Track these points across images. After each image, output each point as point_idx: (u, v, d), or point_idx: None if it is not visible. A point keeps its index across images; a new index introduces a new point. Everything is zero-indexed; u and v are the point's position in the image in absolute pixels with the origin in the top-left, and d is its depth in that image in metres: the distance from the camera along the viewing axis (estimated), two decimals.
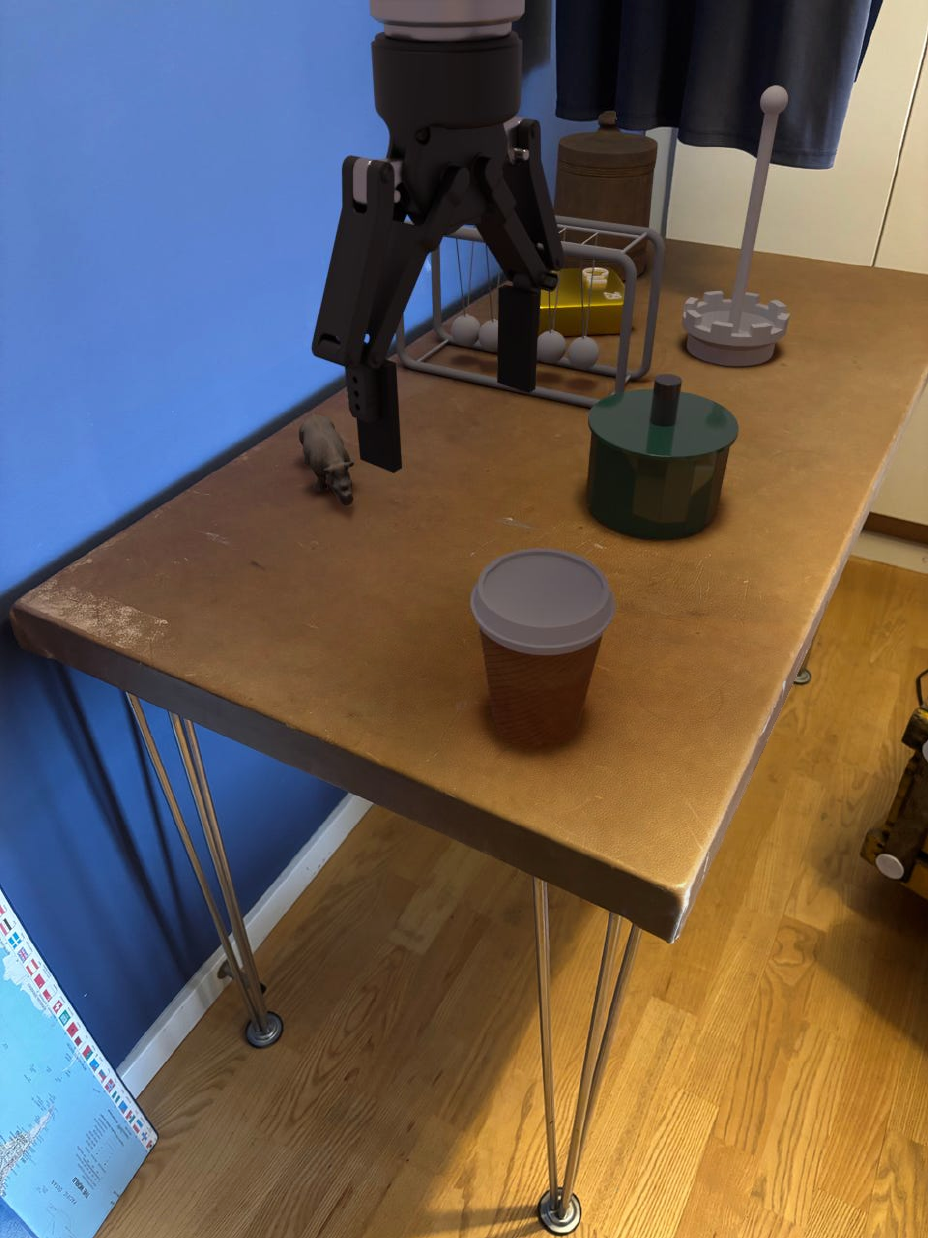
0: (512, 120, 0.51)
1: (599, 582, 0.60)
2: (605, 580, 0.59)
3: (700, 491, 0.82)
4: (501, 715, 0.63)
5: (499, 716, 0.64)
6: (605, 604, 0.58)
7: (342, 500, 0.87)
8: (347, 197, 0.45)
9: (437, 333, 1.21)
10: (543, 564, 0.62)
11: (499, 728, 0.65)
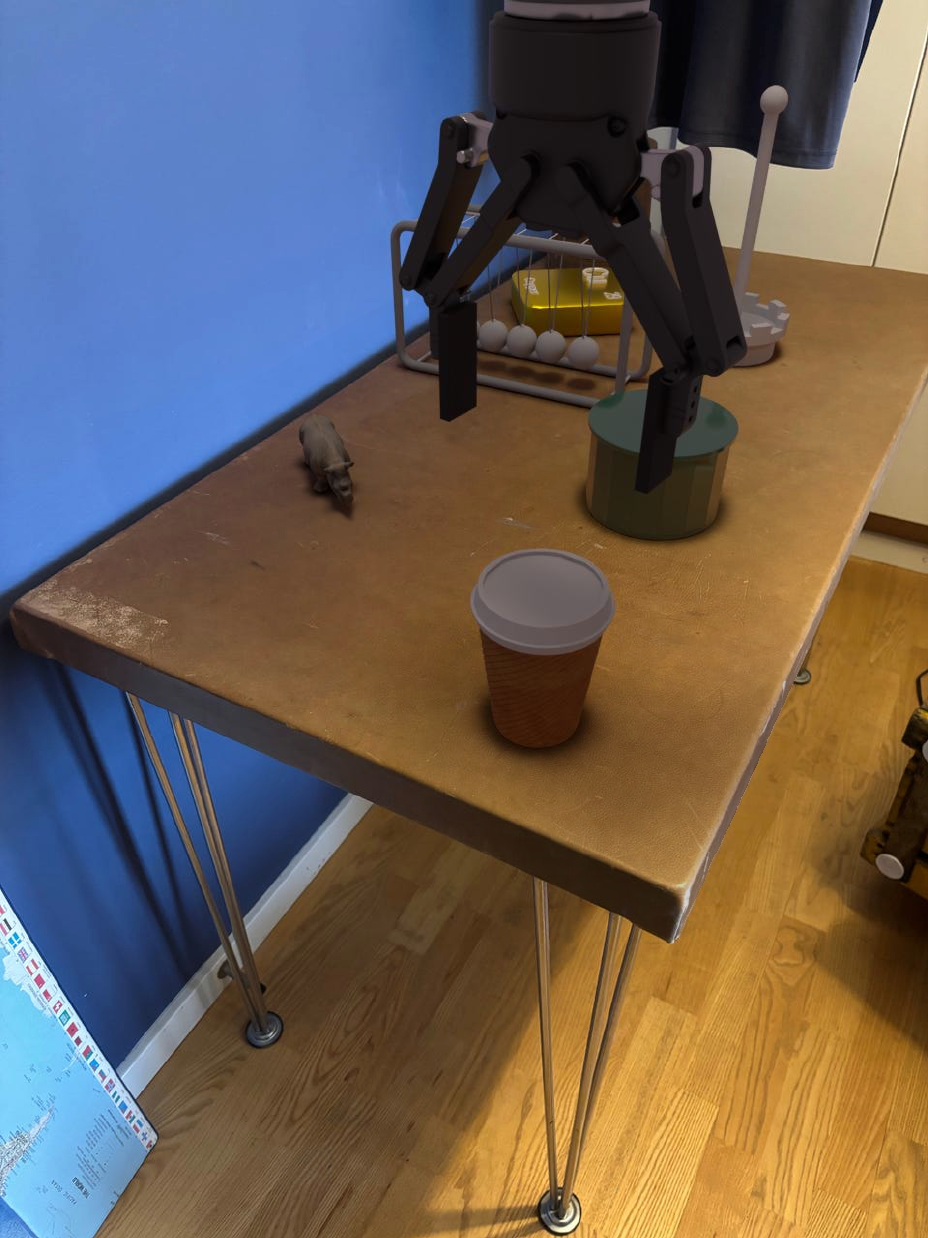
0: (468, 117, 0.45)
1: (599, 582, 0.60)
2: (605, 580, 0.59)
3: (700, 491, 0.82)
4: (501, 715, 0.63)
5: (499, 716, 0.64)
6: (605, 604, 0.58)
7: (342, 500, 0.87)
8: (689, 197, 0.40)
9: None
10: (543, 564, 0.62)
11: (499, 728, 0.65)
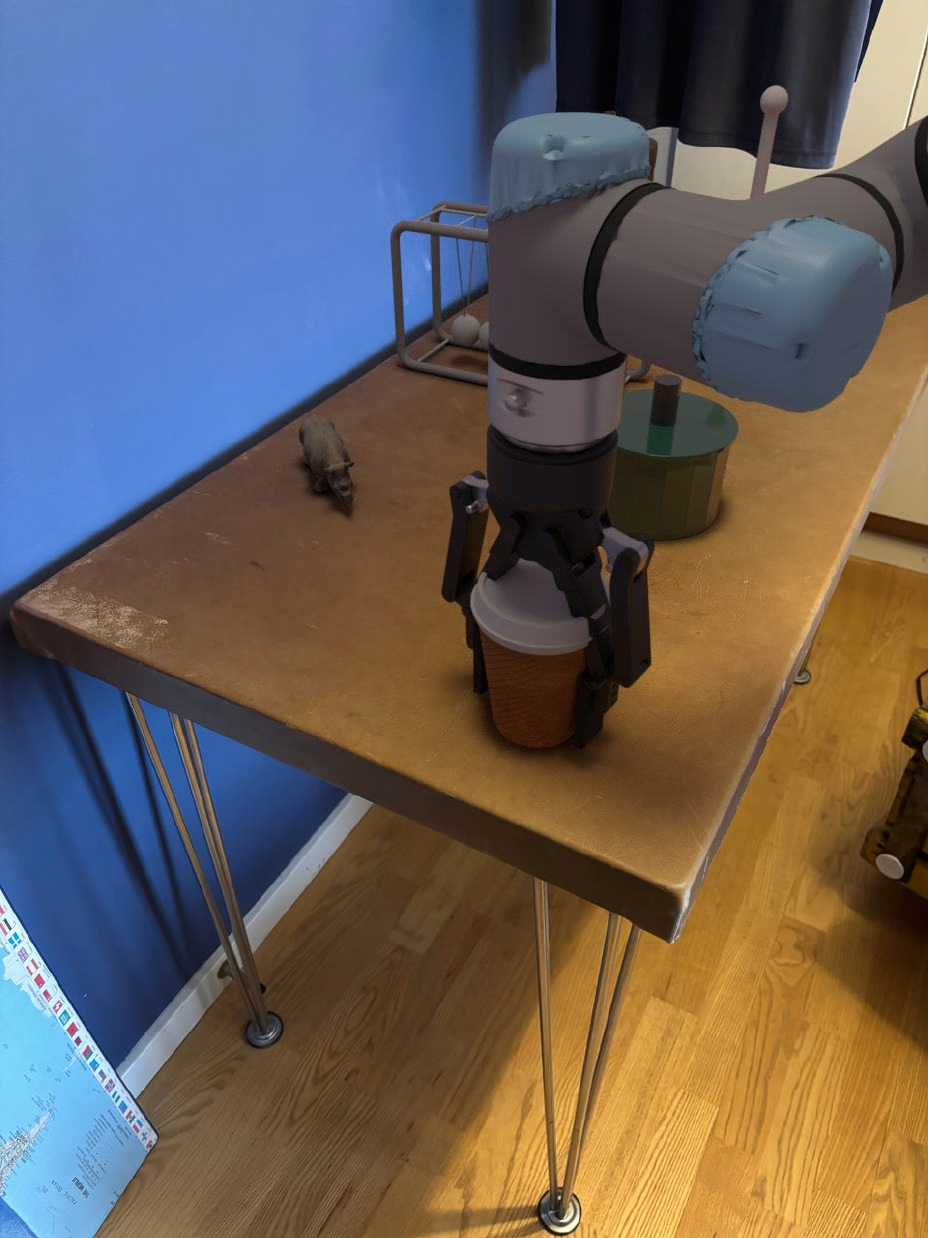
0: (469, 480, 0.58)
1: None
2: (605, 580, 0.59)
3: (700, 491, 0.82)
4: (501, 715, 0.63)
5: (499, 716, 0.64)
6: None
7: (342, 500, 0.87)
8: (631, 580, 0.53)
9: (437, 333, 1.21)
10: None
11: (499, 728, 0.65)
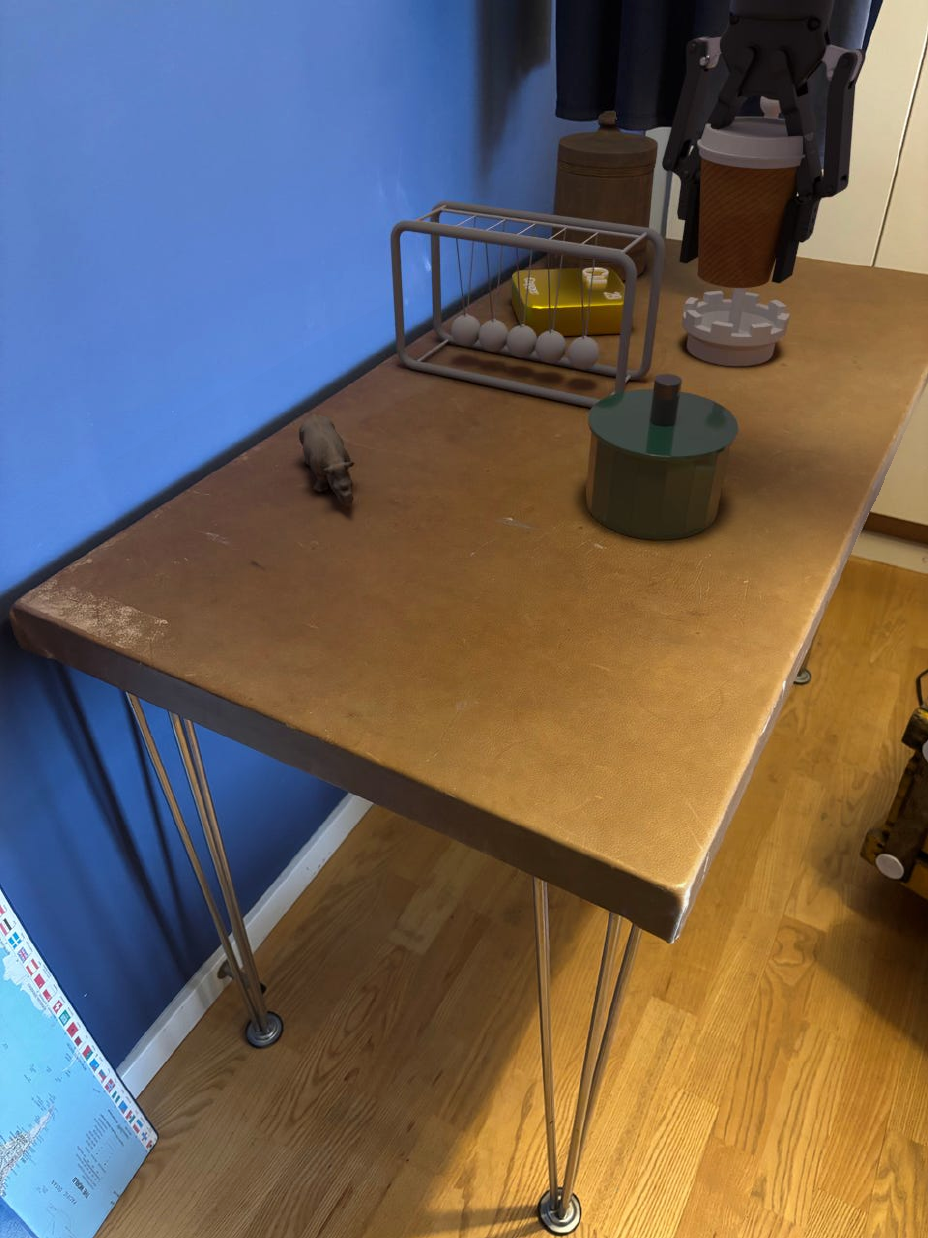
0: (702, 38, 0.73)
1: None
2: None
3: (700, 491, 0.82)
4: (713, 257, 0.78)
5: (710, 261, 0.79)
6: None
7: (342, 500, 0.87)
8: (848, 81, 0.68)
9: (437, 333, 1.21)
10: (752, 124, 0.76)
11: (707, 277, 0.80)
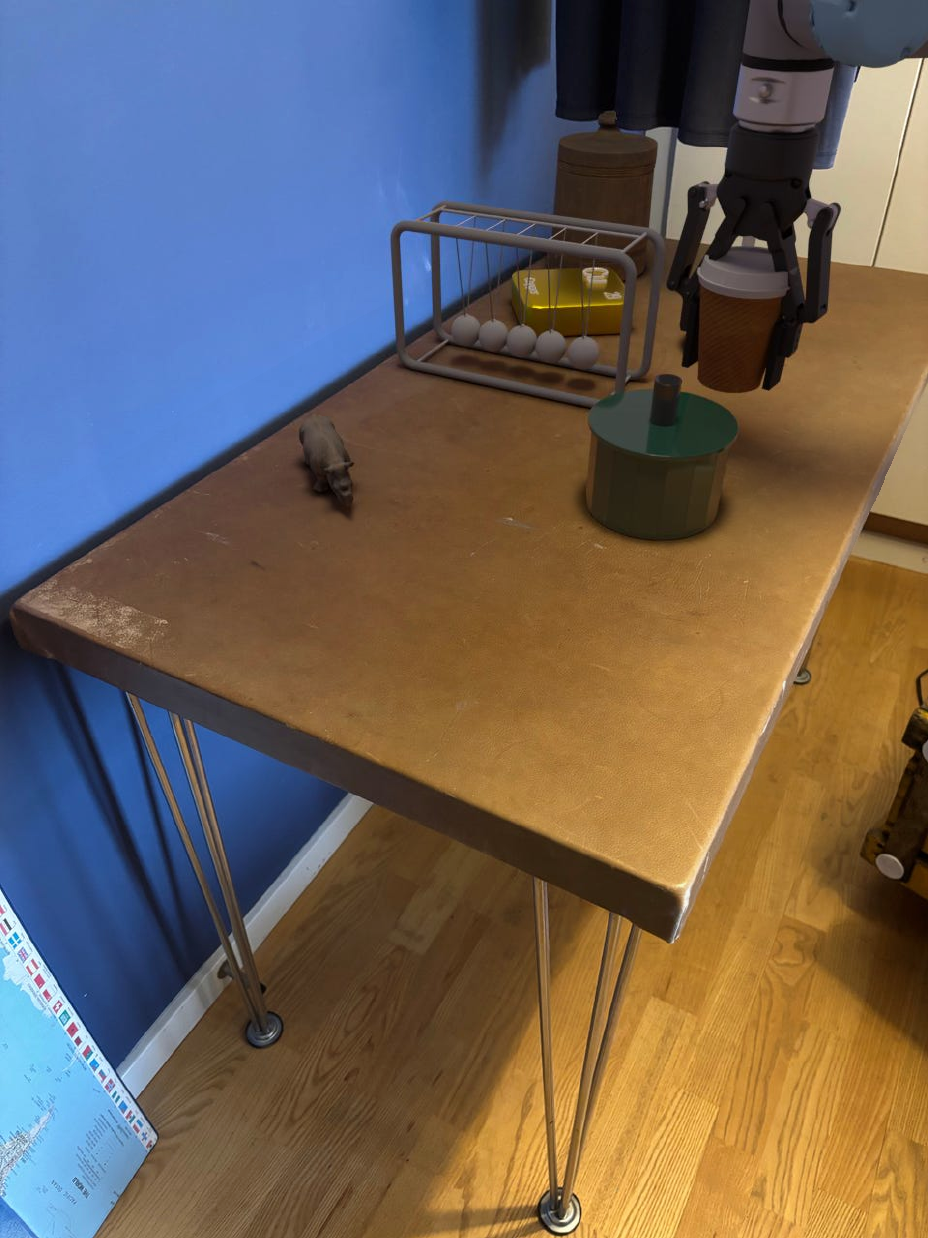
0: (702, 184, 0.85)
1: None
2: None
3: (700, 491, 0.82)
4: (711, 367, 0.90)
5: (708, 370, 0.90)
6: None
7: (342, 500, 0.87)
8: (826, 231, 0.79)
9: (437, 333, 1.21)
10: (745, 253, 0.88)
11: (705, 383, 0.91)
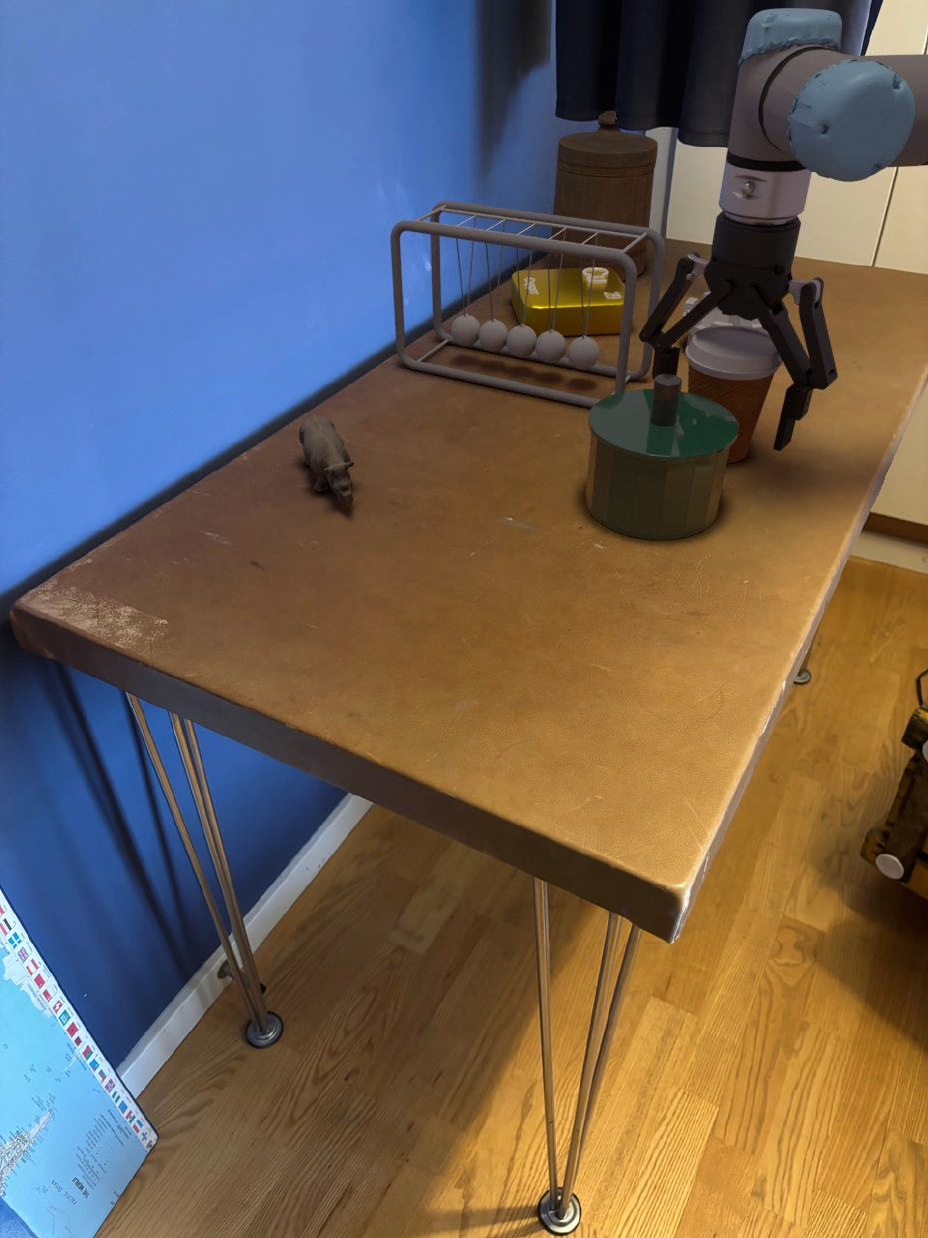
0: (692, 257, 0.89)
1: (771, 341, 0.91)
2: None
3: (700, 491, 0.82)
4: None
5: None
6: None
7: (342, 500, 0.87)
8: (813, 304, 0.83)
9: (437, 333, 1.21)
10: (731, 333, 0.93)
11: None
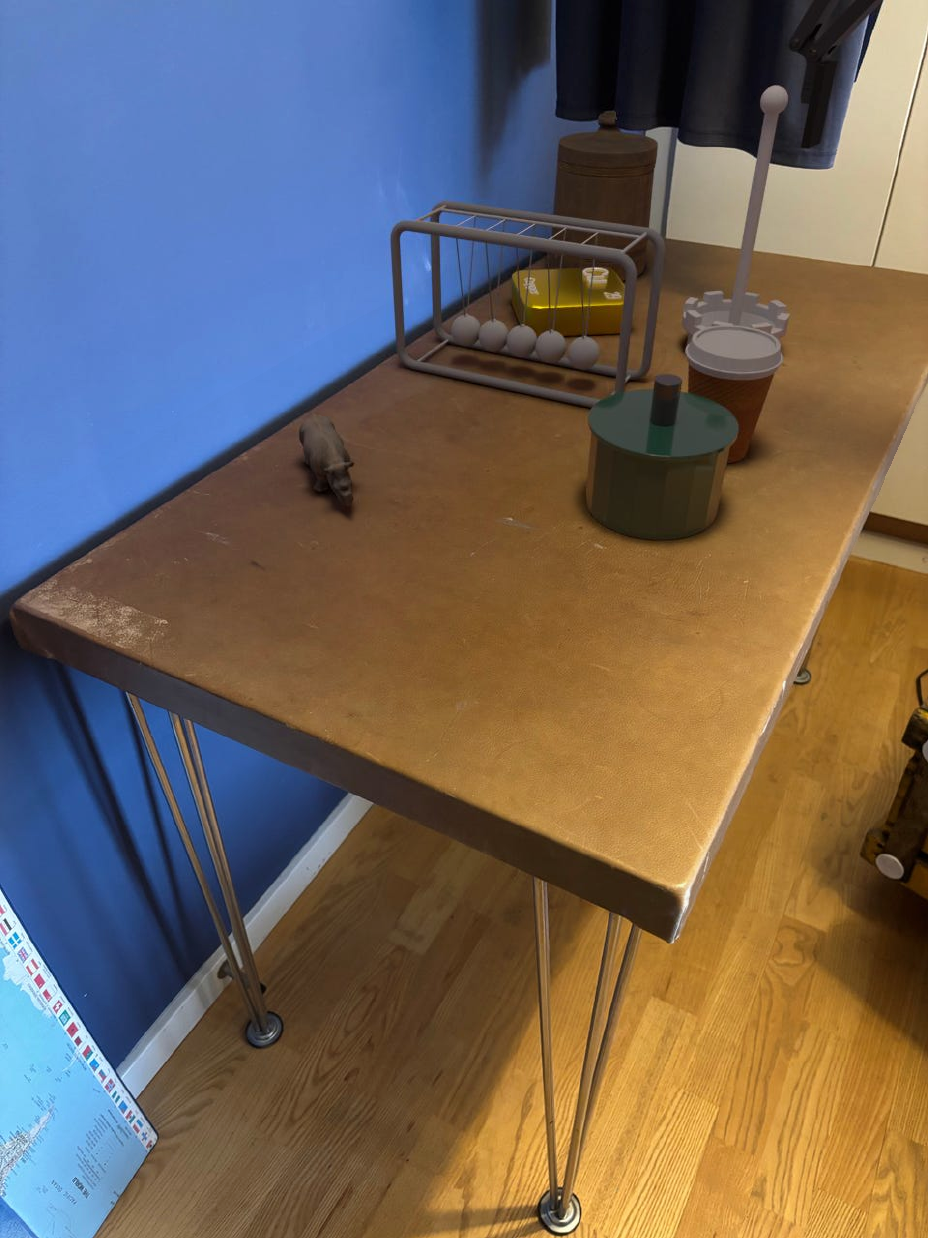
0: None
1: (771, 341, 0.91)
2: (776, 338, 0.91)
3: (700, 491, 0.82)
4: None
5: None
6: (779, 349, 0.89)
7: (342, 500, 0.87)
8: None
9: (437, 333, 1.21)
10: (731, 333, 0.93)
11: None
